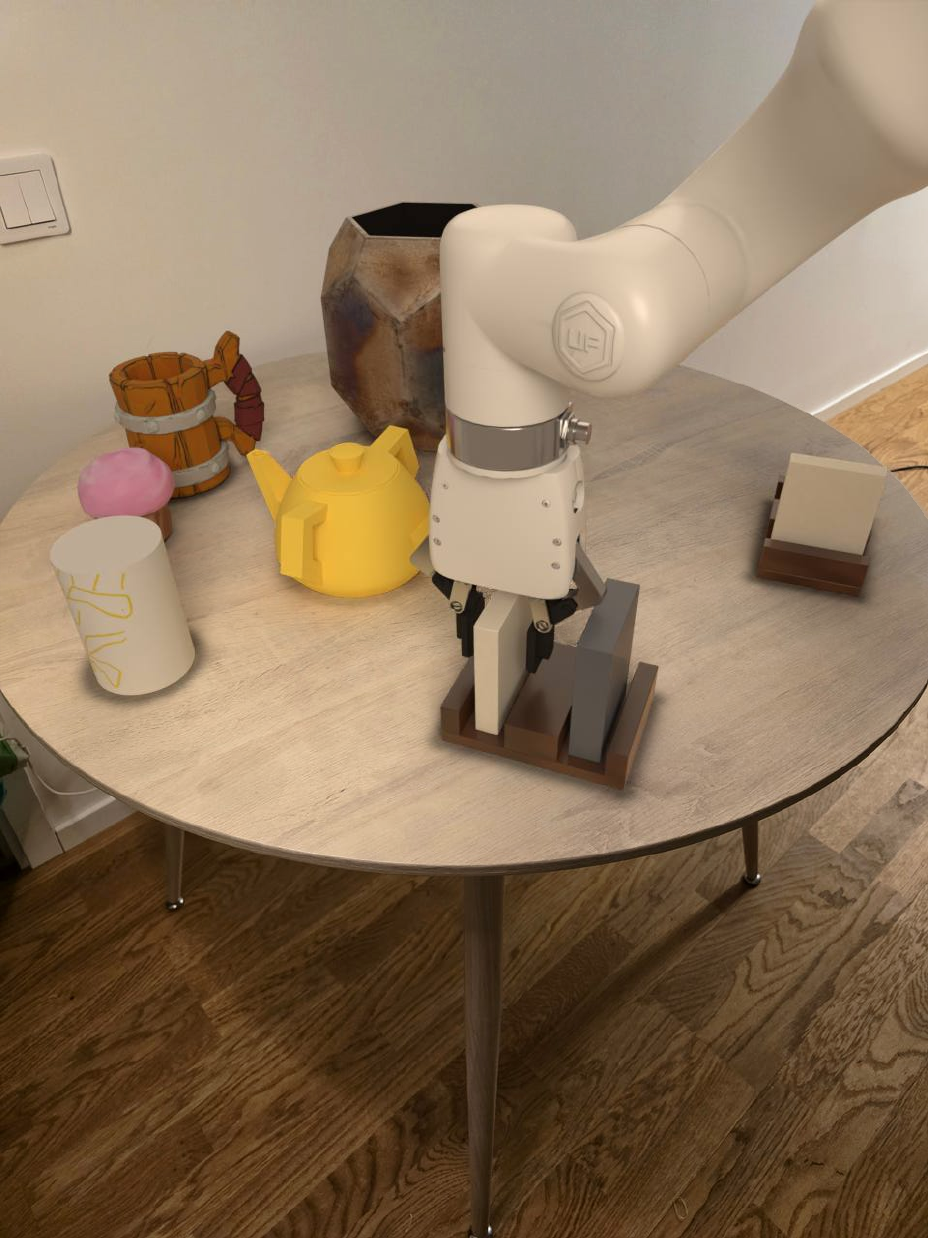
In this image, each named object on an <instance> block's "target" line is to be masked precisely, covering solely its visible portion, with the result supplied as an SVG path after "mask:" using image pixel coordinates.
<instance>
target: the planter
mask: <svg viewBox="0 0 928 1238" xmlns="http://www.w3.org/2000/svg"><path fill="white" fill-rule="evenodd" d="M478 207H482V206H481V205H479V204H478V203H476V202H444V201H443V202H441V201H398V202H394V203H392V204H388V205H385V206H381V207H377V208H374V209H371V210H366V211H364V212H360V213H357V214H353V215H350V216H346V217H345V218H344V220H343V222H342V223H341V226H340V227H339V229H338V231H337V233H336V235H335V236H334V238H333V240H332V242H331V244H330V245H329V248H328V251H327V259H326V264H325V269H324V276H323V280H322V281H323V282H322V287H321V293H320V306H321V313H322V321H323V329H324V338H325V346H326V354H327V361H328V370H329V377H330V386H331V387H332V389H333V390H334V391H335V392H336V393H337V395H338V396H339V397H340V398H341V400H342V401H343V402H344V404H346V406H347V407H348V408H349V409H350V410H351V412H352V413H353V414H354V415H355V417H357V419H358V420H359V421H360V423H361V424H362V425H363V426H364V427H365V429H366V430H367V431H368V432H369V433H370V434H371V436H373V438H374V439H375V441H376V440H377V438H378V437H379V436H380V435H381V434H382V433H383V432H384V431H385V430H386V429H387V428H388V427H389V425H392V426H396V427H400V428H404V429H408V431H409V435H410V438H411V441H412V444H413V448H414V451H419V452H433V453H437V451H438V446H439V443H440V442H441V440H442V439H443V437H444V436H445V434H446V415H445V388H444V362H443V335H442V309H441V283H440V242H441V237H442V234H443V231H444V229H445V227H446V225H447V224H448V223H449V222H450V221H451V220H452V219H453V218H454V217H455V216H457V215H458V214H460V213H463V212H465V211H468V210H471V209H474V208H478Z"/></svg>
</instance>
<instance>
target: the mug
mask: <svg viewBox="0 0 928 1238" xmlns="http://www.w3.org/2000/svg"><path fill="white" fill-rule="evenodd" d="M240 339H241V338H240V337H239V335H238V334H235V332H232V331H230V330H225V331H224V333H223V334H222V335H221V336H220V338H218V340H217V343H216V344H215V347H214V351H213V357H212V358H208V359H205V360H202V359H201V358H199V357H198V356H196V355H192V354H189V353H186V352H180V353H178V352H177V351H162V352H161V351H160V352H153V353H149V354H148V355H142V356H138V357H134V358H130V359H128V360H125V361H123V362H121V363H119V364H117V365H116V366H114V367H113V369H112V371H111V372H109V373H108V377H109V378H108V379H109V380H108V381H109V383H110V386H111V389H112V391H113V395H114V397H115V399H116V401H115V405H114V410H115V412H114V413H113V417H114V420H115V422H116V423H118V424H120V425H121V426H122V427H123V428H124V430H125V435H126V439H127V443H128V448H131V447H133V448H142V449H145V450H147V451H148V452H150V453H151V454H153V455H154V456H156V457H158V458H159V459H160V460H162V461H163V462H165V463H166V464H167V465H168V466H169V468H170V470H171V472H172V474H173V476H174V480H175V488H174V491H173V494H172V496H171V498H170V499H178V498H189V497H194V496H196V495H197V494H203V493H205V492H207V491H209V490H210V489H215V488H217V487H218V486H219V485H221V484H222V483H223V482H224V481H225V480H226V479H227V478H228V477H229V474H230V473H231V466H230V463H229V461H230V453H229V450H230V444H229V442H232V444H233V445H234V447H235V449H236V450H237V452H238V453H239V455H240V456H242V457H243V456H244V457H247V454H248V453H250V452H251V451H253V450H255V449H256V443H257V442H261V439H262V433H263V423H264V422H265V402H264V401H263V399H262V395H261V393H262V388H261V385H260V382H259V381H258V380H257V378H256V375H255V374H254V373H253V368H252V366H251V364H250V363H249V361H248V360H247V358H246V357H245V356H244V355H243V354H242V353H240V345H241V340H240ZM222 382H223V383H224V385H225V386H226V388H227V389H228V390H229V391H230V392H231V393H232V394H233V395H234V396H235V402H234V403H233V413H234V414H233V418H234V419H233V421H232V420H231V419H229V418H227V417H226V416H220V415H217V416H214V414H215V412H216V410H217V403H216V400H217V393H216V391H215V390H213V389H212V388H213V387H215V386H217V385H218V384H220V383H222Z"/></svg>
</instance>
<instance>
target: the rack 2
mask: <svg viewBox="0 0 928 1238" xmlns="http://www.w3.org/2000/svg"><path fill="white" fill-rule="evenodd" d="M785 476H786V475H783V474H781V475H780V474H779V475H778V480H777V484H776V488H775V493H774V498H773V501H772V502H773V503H772V506H771V510H770V515H769V519H768V523H767V527H766V533H765V537H764V540H763V541H764V542H763V545H762V549H761V555H760V558H759V562H758V568H757V572H756V578H759V579H765V580H770V581H774V582H779V583H784V584H785V583H786V584H790V585H796V586H799V587H806V588H810V589H815V590H820V591H821V590H822V591H826V592H832V593H837V594H841V595H847V596H852V597H858V598H859V597H860V594H861V592H862V589H863V586H864V582H865V580H866V576H867V573H868V570H869V567H870V556H869V555H866V552H867V549H868V546H869V543H870V540H871V536H872V535H871V534H872V529H871V530H870V533H869V536H868V539H867V542H866V545H865V549H864V552H863V555H858V554H853V553H847V552H841V551H836V550H830V549H825V548H819V547H814V546H808V545H802V544H797V543H791V542H786V541H780V540H775V539H771V535H772V531H773V527H774V522H775V518H776V514H777V510H778V506H779V501H780V497H781V493H782V489H783V484H784V480H785Z"/></svg>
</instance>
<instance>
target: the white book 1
mask: <svg viewBox="0 0 928 1238" xmlns="http://www.w3.org/2000/svg"><path fill="white" fill-rule="evenodd" d="M532 621H533V617H532V612H531V608H530V604H529V599H528V596H525V595H520V594H515V593H510V592H506V591H501V590H496V589H494V592H493V594H492V595H491V597H490V598H489V600H488V602H487V604H485V608H484V610H483V612H482V613H481V615H480V616H479V618H478V620H477V621H476V623H475V625H474V674H475V725H476V730H480V731H484V732H487V733H491V734H495V735H498V733H499V731H500V730H501V728H502V726H503V724H504V722H505V720H506V718H507V716H508V714H509V712H510V710H511V708H512V706H513V704H514V702H515V700H516V698H517V696H518V694H519V692H520V690H521V688H522V686H523V684H524V682H525V680H526V678H527V676H528V674H529V672H528V670H526V637H527V630H528V628H529V626H530V624H531V623H532Z"/></svg>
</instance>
